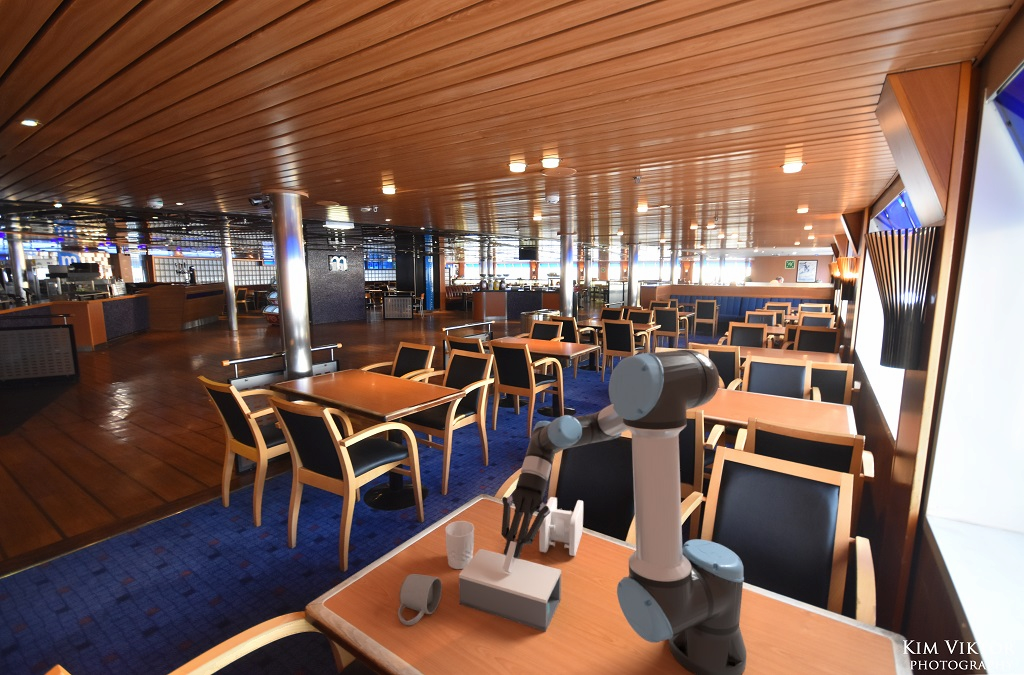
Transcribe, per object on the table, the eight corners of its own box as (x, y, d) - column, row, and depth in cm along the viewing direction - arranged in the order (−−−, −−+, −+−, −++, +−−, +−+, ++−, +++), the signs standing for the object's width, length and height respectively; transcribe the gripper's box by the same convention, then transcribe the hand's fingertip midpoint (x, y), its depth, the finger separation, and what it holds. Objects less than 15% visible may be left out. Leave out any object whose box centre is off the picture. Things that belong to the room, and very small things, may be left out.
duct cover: (561, 572, 115) (561, 569, 114) (546, 603, 105) (546, 600, 104) (480, 551, 123) (480, 548, 123) (459, 577, 113) (458, 574, 113)
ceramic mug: (413, 592, 118) (412, 564, 117) (443, 599, 116) (442, 571, 115) (389, 622, 109) (388, 592, 107) (421, 631, 106) (419, 601, 105)
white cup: (470, 572, 126) (469, 537, 125) (442, 569, 127) (441, 534, 126) (477, 555, 134) (477, 522, 132) (450, 552, 135) (450, 519, 134)
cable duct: (560, 600, 116) (561, 574, 115) (545, 631, 106) (546, 603, 105) (480, 576, 124) (480, 552, 123) (459, 604, 114) (459, 577, 113)
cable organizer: (574, 563, 130) (575, 523, 128) (537, 556, 133) (537, 517, 132) (583, 534, 144) (584, 498, 143) (549, 528, 147) (549, 493, 146)
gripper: (560, 487, 125) (536, 582, 112) (515, 478, 131) (487, 568, 118) (554, 476, 120) (528, 574, 107) (507, 467, 125) (477, 560, 112)
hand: (507, 571), depth 112 cm, fingers closed
